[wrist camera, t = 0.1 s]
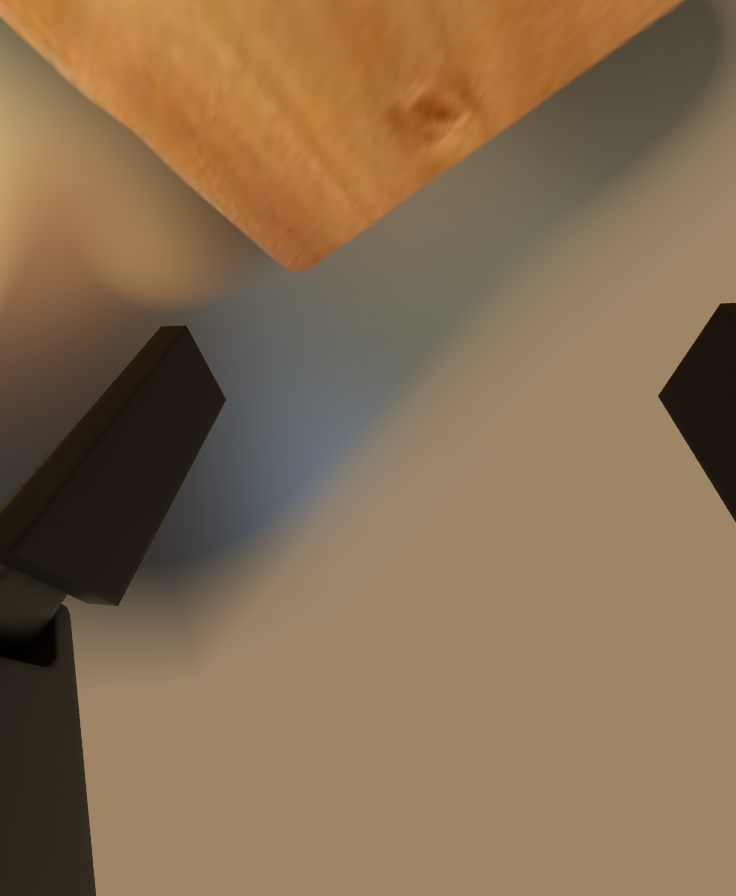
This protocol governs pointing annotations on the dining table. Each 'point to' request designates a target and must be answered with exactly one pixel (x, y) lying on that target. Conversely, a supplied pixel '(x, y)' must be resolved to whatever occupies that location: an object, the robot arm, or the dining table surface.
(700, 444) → the robot arm
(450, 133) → the dining table surface
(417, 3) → the dining table surface
